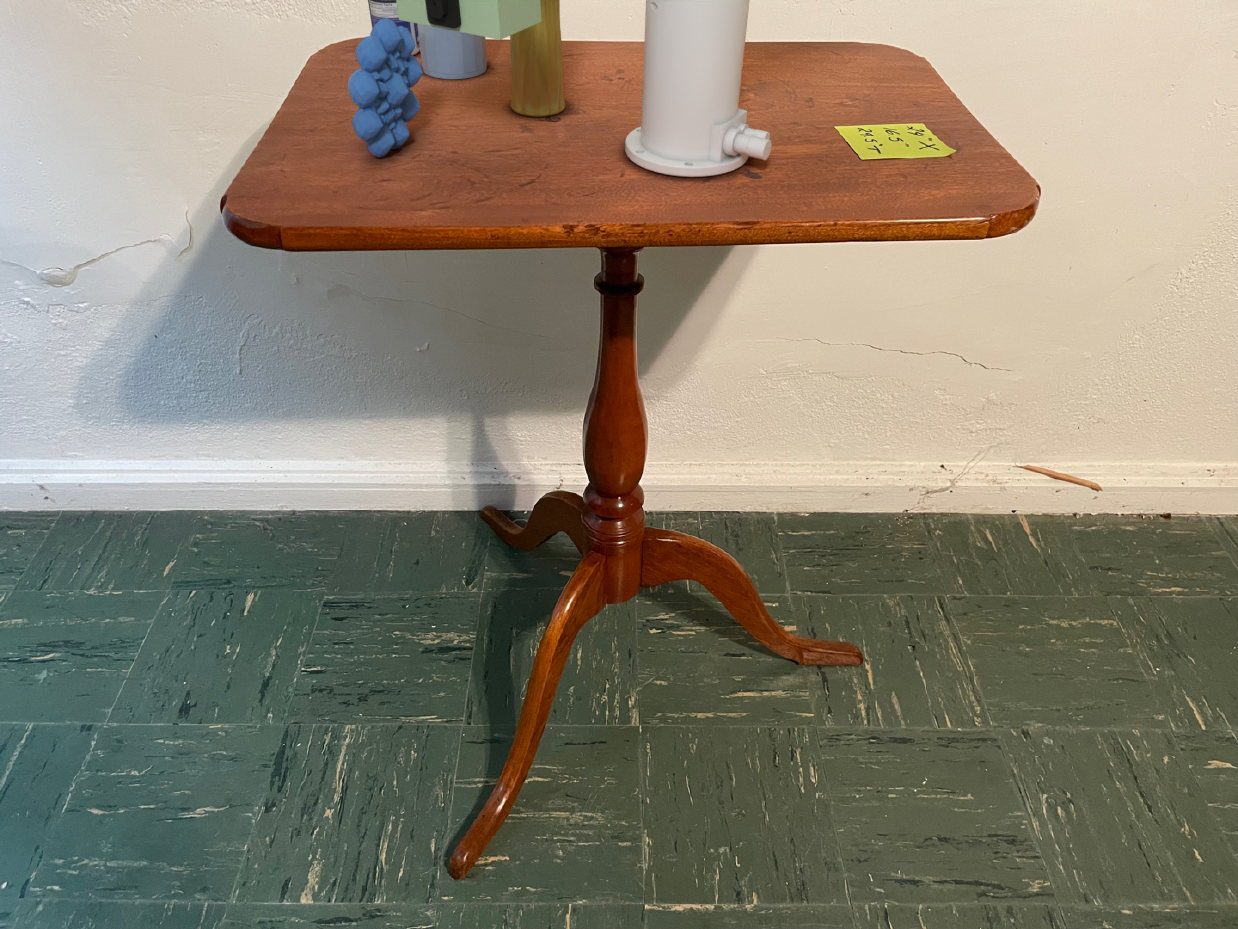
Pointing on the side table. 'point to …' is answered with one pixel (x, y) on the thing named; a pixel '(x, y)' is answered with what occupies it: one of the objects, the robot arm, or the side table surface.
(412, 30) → the pill bottle
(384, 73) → the grapes
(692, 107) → the robot arm
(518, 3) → the pale sage-green block
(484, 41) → the cup
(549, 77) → the vase
